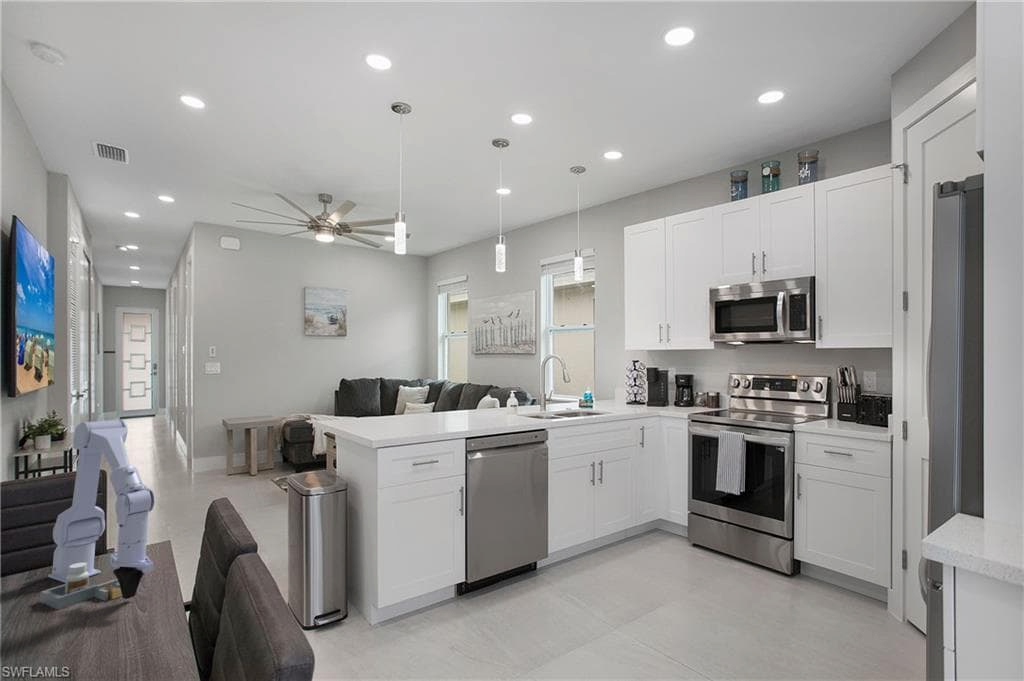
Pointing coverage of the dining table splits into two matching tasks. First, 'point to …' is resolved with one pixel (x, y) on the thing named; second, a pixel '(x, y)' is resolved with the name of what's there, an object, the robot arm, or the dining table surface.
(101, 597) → the dock bay
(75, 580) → the pill bottle
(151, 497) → the robot arm
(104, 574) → the dining table surface
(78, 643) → the dining table surface
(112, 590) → the lock bar
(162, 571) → the dining table surface
